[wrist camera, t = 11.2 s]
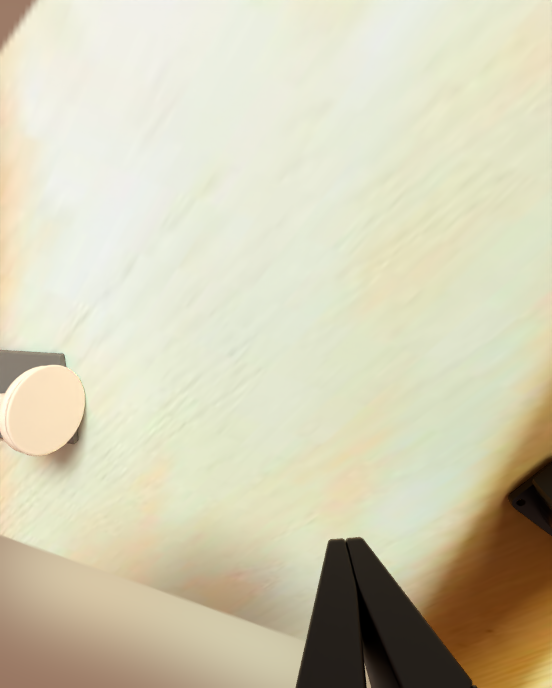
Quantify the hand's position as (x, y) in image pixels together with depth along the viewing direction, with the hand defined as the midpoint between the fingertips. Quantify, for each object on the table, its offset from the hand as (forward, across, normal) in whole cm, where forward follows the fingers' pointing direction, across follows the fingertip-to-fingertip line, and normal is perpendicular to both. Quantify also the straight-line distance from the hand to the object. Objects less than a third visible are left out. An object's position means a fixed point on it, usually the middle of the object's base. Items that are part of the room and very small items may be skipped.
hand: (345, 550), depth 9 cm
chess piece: (+10, +14, 0) cm, 17 cm away
